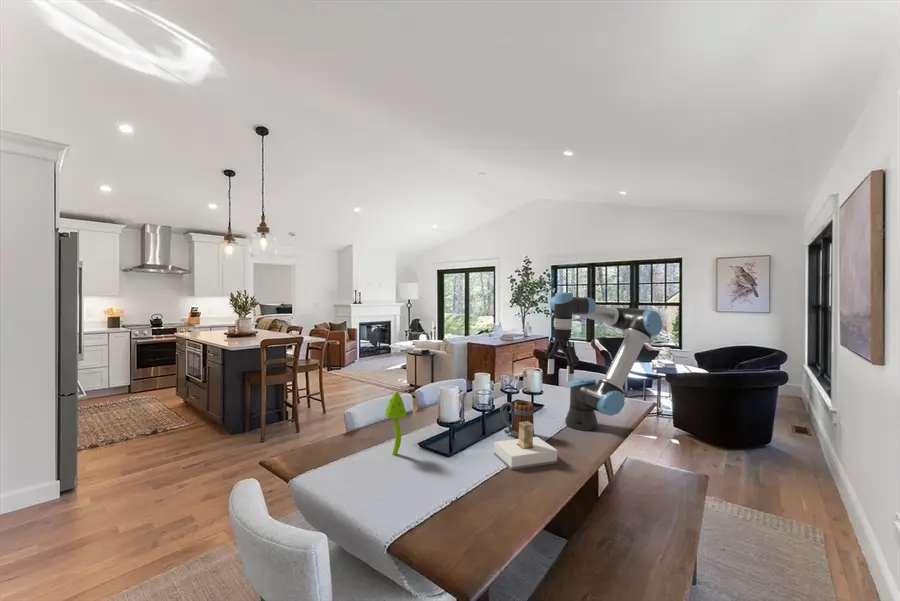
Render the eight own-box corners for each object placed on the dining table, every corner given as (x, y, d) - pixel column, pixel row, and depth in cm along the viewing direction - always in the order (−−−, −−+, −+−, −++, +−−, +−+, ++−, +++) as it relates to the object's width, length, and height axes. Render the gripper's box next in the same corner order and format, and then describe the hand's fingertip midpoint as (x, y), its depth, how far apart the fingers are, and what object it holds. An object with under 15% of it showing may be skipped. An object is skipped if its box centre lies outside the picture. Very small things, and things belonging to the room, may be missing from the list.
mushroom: (388, 448, 164) (389, 387, 163) (407, 451, 163) (409, 389, 162) (380, 457, 156) (382, 393, 155) (401, 460, 155) (403, 395, 153)
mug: (532, 432, 188) (534, 400, 187) (535, 441, 177) (536, 407, 177) (498, 430, 190) (500, 398, 189) (499, 438, 179) (500, 405, 178)
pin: (526, 453, 162) (527, 421, 162) (531, 457, 159) (533, 424, 158) (517, 454, 161) (519, 422, 160) (523, 458, 157) (524, 425, 157)
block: (536, 448, 170) (537, 436, 170) (556, 462, 157) (557, 450, 157) (493, 454, 163) (494, 441, 163) (511, 469, 150) (511, 456, 149)
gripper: (538, 325, 185) (536, 371, 186) (573, 332, 161) (570, 385, 163) (552, 324, 187) (550, 370, 188) (588, 332, 164) (586, 384, 165)
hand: (559, 377), depth 175 cm, fingers open, 13 cm apart
